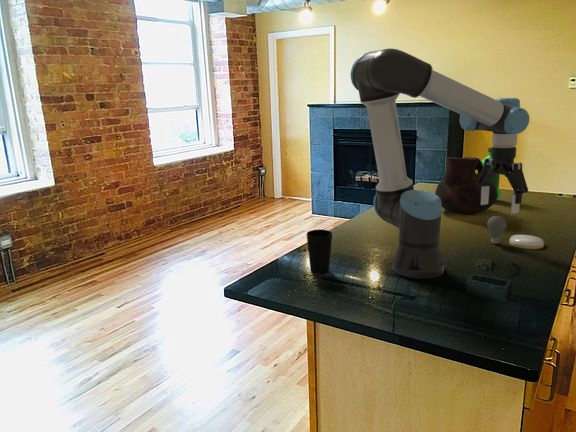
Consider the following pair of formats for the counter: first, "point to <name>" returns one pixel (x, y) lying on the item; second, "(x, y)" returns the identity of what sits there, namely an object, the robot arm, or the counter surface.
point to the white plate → (526, 242)
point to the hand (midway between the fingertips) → (499, 208)
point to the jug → (463, 187)
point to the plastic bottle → (497, 176)
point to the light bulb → (496, 228)
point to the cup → (319, 250)
